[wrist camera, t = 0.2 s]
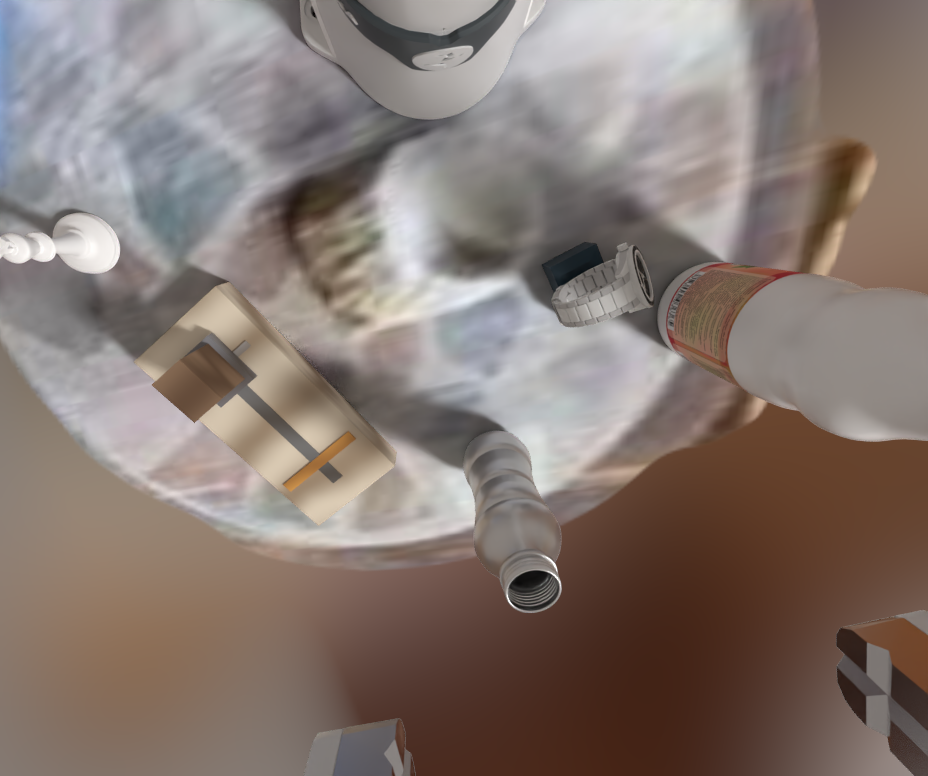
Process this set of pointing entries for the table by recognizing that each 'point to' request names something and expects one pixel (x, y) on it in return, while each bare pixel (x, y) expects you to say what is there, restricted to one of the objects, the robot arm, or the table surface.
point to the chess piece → (67, 244)
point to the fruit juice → (807, 345)
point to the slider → (204, 378)
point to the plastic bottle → (513, 521)
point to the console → (279, 408)
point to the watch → (598, 284)
